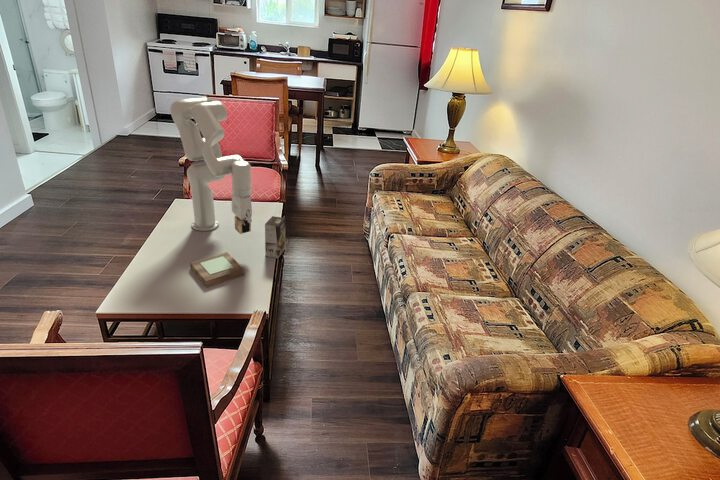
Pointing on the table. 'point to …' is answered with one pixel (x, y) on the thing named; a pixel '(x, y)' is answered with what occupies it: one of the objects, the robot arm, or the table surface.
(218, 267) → the walnut base
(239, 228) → the maple block
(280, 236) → the coffee box
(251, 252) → the table surface
